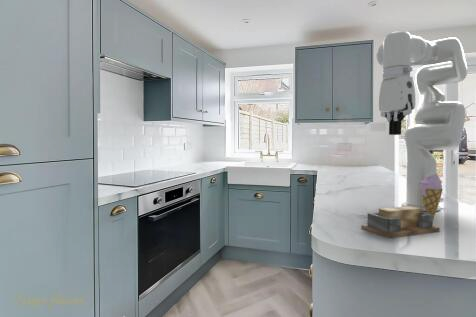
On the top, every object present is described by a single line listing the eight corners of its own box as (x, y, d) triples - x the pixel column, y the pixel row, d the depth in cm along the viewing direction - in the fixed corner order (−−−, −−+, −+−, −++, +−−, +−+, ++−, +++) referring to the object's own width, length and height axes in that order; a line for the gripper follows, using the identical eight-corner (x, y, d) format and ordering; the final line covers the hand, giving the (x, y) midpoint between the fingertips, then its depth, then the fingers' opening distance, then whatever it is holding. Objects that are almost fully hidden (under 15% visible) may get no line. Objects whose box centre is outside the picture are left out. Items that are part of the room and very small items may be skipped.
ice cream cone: (433, 222, 94) (434, 174, 94) (413, 218, 100) (414, 172, 99) (445, 220, 97) (447, 173, 97) (426, 216, 103) (427, 171, 102)
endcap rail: (408, 222, 94) (408, 208, 94) (439, 231, 85) (440, 215, 85) (361, 228, 88) (361, 212, 88) (389, 237, 79) (389, 220, 79)
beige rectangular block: (410, 222, 90) (410, 205, 90) (421, 225, 87) (421, 208, 87) (378, 226, 86) (378, 208, 86) (388, 229, 83) (388, 211, 83)
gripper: (427, 70, 88) (425, 134, 89) (386, 80, 103) (385, 135, 103) (407, 68, 86) (406, 133, 87) (368, 78, 100) (367, 135, 101)
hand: (395, 134), depth 95 cm, fingers closed
